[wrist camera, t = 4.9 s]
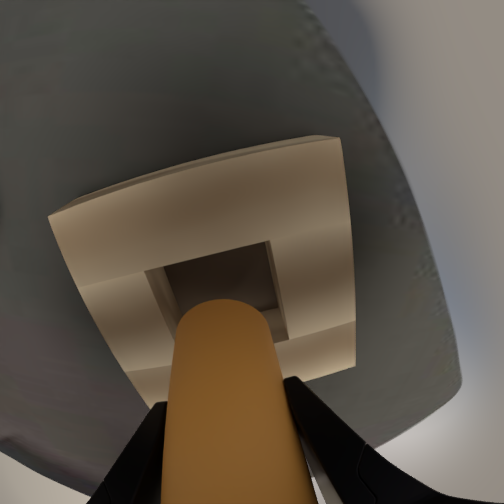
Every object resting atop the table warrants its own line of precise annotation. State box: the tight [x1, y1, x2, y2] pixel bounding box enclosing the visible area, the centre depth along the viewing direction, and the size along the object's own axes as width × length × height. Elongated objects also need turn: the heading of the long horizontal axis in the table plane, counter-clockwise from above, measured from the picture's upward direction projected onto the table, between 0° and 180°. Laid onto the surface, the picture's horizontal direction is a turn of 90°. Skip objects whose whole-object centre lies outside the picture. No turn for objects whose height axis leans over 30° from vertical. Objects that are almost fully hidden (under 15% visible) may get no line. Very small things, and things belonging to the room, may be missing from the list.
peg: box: [161, 299, 318, 504], centre depth 7 cm, size 4×4×9 cm
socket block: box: [48, 135, 356, 409], centre depth 14 cm, size 12×12×3 cm
